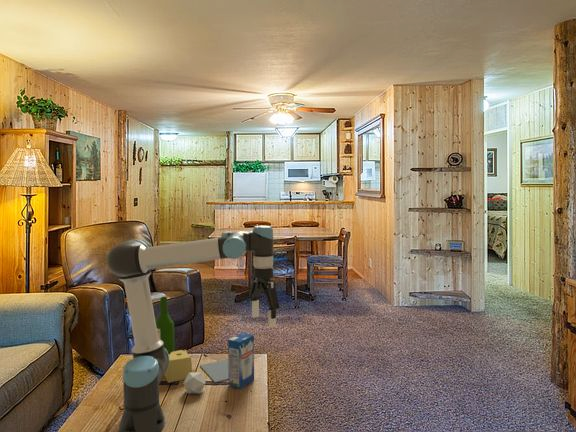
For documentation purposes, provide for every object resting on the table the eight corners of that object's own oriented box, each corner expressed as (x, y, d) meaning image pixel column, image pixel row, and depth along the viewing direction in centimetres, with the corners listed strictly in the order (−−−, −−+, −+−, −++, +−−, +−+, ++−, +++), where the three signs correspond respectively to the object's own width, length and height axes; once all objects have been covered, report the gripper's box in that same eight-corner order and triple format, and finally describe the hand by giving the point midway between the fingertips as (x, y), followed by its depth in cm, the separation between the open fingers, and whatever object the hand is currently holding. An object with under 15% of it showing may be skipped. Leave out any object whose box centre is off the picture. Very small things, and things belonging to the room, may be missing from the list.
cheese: (163, 374, 194) (162, 352, 193) (187, 369, 199) (187, 348, 198) (167, 383, 185) (166, 361, 184) (192, 379, 189) (192, 356, 188)
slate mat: (214, 383, 185) (214, 381, 185) (199, 366, 202) (199, 365, 202) (253, 373, 194) (253, 372, 194) (235, 358, 211) (235, 357, 211)
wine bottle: (151, 366, 202) (149, 298, 199) (167, 360, 209) (165, 294, 207) (163, 371, 196) (161, 301, 194) (178, 365, 204) (177, 297, 201)
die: (194, 401, 171) (208, 378, 173) (176, 389, 172) (190, 367, 175) (198, 398, 179) (211, 377, 181) (181, 387, 180) (194, 366, 182)
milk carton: (240, 389, 179) (239, 342, 178) (228, 385, 183) (227, 339, 181) (254, 380, 188) (254, 335, 186) (243, 376, 191) (242, 332, 190)
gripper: (288, 271, 155) (288, 329, 156) (257, 260, 176) (257, 311, 178) (270, 273, 151) (270, 332, 152) (240, 262, 172) (240, 314, 174)
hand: (263, 321), depth 165 cm, fingers open, 13 cm apart
